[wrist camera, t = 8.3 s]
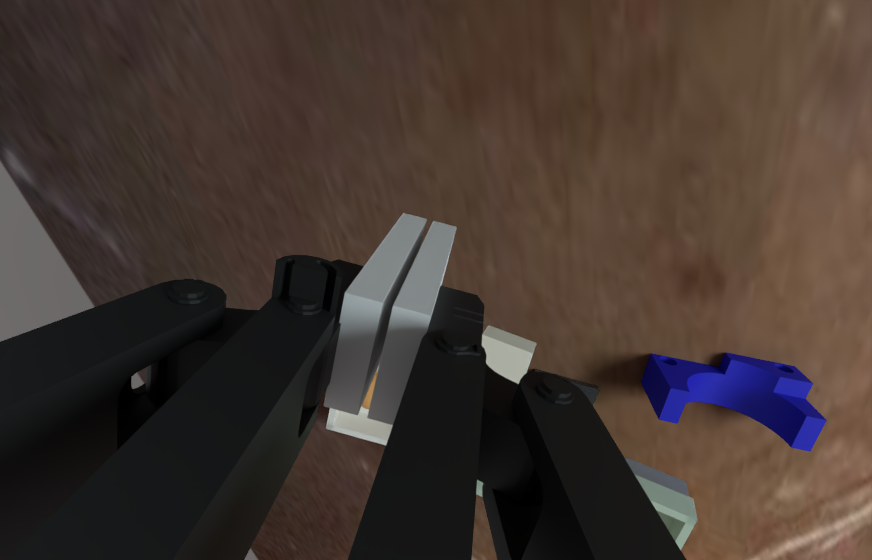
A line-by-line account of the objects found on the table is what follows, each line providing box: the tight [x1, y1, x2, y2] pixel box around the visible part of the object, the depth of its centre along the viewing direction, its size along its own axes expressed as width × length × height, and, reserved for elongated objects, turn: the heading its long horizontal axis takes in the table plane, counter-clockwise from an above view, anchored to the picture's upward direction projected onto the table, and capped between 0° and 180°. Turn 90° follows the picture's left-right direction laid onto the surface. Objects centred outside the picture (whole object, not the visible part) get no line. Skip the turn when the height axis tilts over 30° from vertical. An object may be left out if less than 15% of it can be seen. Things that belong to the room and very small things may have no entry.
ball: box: [362, 372, 378, 410], centre depth 48 cm, size 4×4×4 cm
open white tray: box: [326, 366, 393, 445], centre depth 49 cm, size 10×9×4 cm
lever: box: [476, 325, 697, 550], centre depth 42 cm, size 20×14×5 cm
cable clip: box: [641, 353, 827, 451], centre depth 43 cm, size 12×4×6 cm, turn 80°
